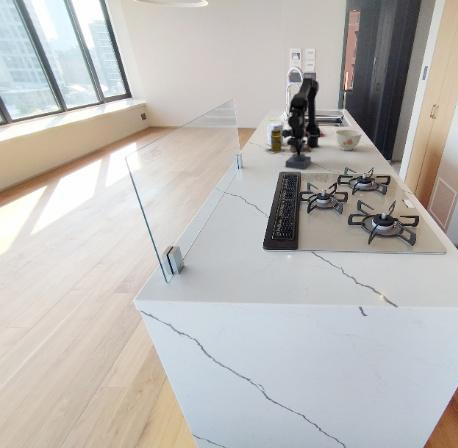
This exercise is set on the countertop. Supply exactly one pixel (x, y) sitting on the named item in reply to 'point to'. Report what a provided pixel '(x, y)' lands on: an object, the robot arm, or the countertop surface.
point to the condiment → (275, 141)
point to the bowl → (348, 138)
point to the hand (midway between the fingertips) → (298, 154)
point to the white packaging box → (274, 127)
